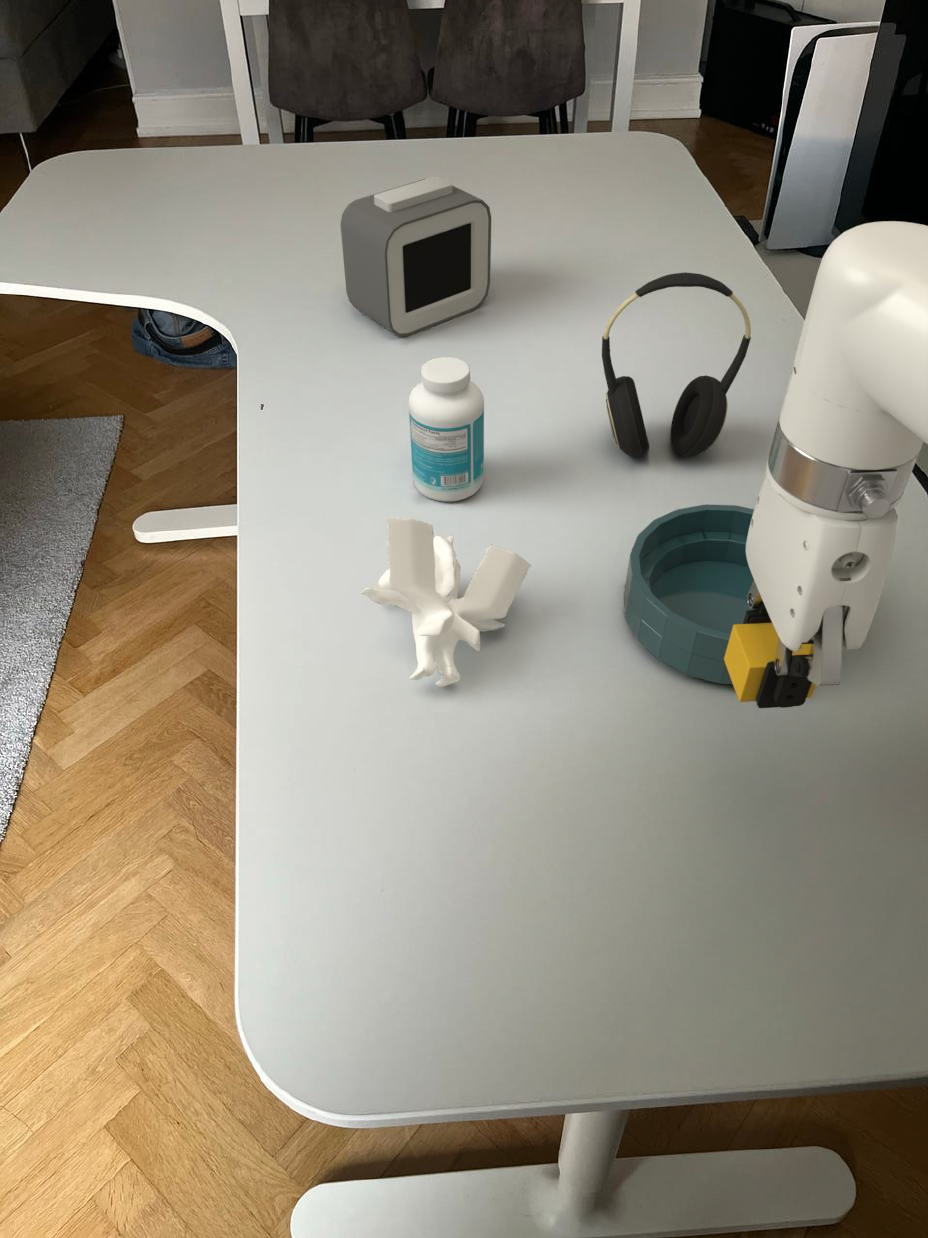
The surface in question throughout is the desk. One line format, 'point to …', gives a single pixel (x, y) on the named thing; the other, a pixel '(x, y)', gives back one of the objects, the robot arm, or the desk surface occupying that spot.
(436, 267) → the alarm clock
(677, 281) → the headphones
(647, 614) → the bowl
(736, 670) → the yellow block
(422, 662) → the figurine
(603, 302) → the desk surface
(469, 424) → the pill bottle
